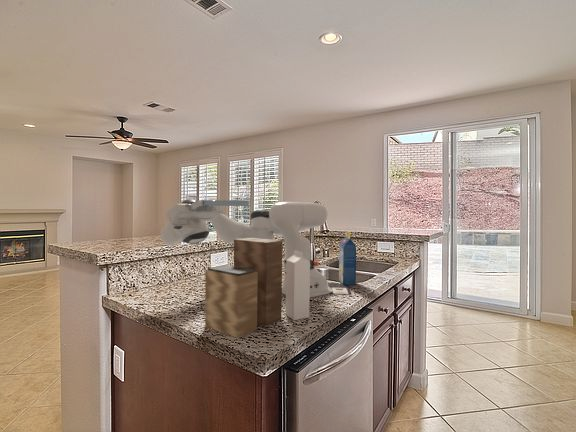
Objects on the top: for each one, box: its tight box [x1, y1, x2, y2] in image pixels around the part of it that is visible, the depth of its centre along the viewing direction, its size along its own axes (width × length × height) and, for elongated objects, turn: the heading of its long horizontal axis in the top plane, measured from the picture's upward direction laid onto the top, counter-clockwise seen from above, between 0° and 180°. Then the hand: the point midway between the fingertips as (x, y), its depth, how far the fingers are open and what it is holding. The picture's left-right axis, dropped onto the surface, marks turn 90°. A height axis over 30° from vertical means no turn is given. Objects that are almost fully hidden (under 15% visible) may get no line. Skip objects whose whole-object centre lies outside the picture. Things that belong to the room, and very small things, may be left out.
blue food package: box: [338, 231, 357, 285], centre depth 153 cm, size 6×12×25 cm, turn 0°
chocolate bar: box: [327, 282, 353, 295], centre depth 142 cm, size 9×1×18 cm
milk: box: [285, 250, 311, 321], centre depth 106 cm, size 6×6×22 cm
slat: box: [194, 199, 249, 207], centre depth 108 cm, size 22×4×2 cm, turn 54°
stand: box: [233, 238, 283, 328], centre depth 103 cm, size 14×8×26 cm, turn 55°
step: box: [204, 264, 258, 339], centre depth 95 cm, size 14×8×18 cm, turn 55°
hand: (208, 201), depth 112 cm, fingers closed on slat, 4 cm apart
